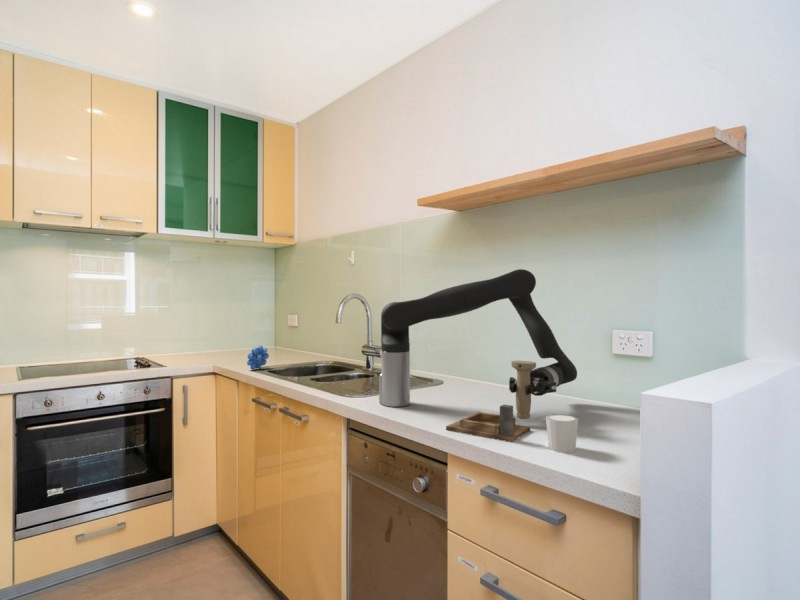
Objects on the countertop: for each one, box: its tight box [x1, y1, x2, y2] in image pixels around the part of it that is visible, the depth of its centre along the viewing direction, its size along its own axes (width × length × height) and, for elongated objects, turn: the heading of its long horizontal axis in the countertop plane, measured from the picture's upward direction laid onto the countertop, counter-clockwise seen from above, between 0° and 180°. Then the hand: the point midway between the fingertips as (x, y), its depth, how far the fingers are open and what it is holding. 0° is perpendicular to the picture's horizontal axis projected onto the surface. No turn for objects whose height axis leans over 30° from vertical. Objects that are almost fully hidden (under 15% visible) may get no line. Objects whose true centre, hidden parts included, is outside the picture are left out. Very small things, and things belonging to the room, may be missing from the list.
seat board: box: [445, 404, 531, 443], centre depth 118 cm, size 18×12×8 cm, turn 54°
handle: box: [510, 360, 537, 420], centre depth 123 cm, size 5×6×15 cm
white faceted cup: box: [545, 414, 579, 454], centre depth 103 cm, size 7×7×7 cm
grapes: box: [246, 345, 270, 370], centre depth 230 cm, size 12×7×12 cm, turn 136°
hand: (519, 389), depth 121 cm, fingers closed on handle, 3 cm apart
